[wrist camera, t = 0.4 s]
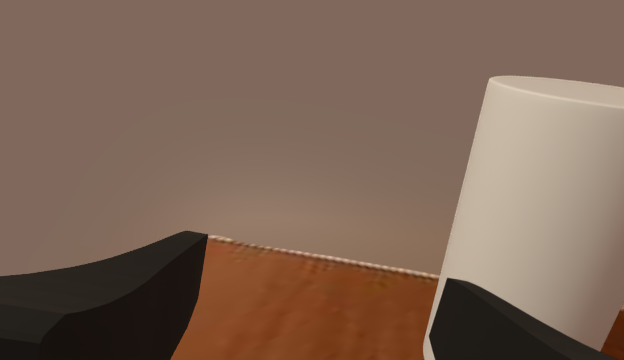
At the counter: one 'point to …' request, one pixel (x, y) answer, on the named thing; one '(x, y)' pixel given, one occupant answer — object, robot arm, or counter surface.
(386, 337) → the counter surface
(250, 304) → the counter surface
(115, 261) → the robot arm
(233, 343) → the counter surface
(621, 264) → the cylinder
